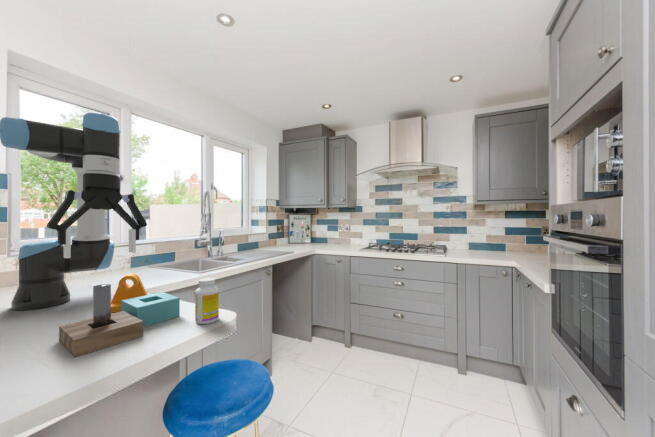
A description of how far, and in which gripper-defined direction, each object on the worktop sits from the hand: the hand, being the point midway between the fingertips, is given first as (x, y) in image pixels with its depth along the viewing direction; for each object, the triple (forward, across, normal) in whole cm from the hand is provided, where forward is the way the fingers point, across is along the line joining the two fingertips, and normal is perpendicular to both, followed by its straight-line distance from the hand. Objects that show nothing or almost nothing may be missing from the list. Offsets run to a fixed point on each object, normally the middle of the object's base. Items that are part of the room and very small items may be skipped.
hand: (102, 254), depth 72 cm
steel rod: (+22, 0, 0) cm, 22 cm away
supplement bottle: (+22, +23, -10) cm, 34 cm away
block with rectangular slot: (+22, +14, +6) cm, 27 cm away
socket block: (+22, 0, 0) cm, 22 cm away
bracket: (+22, +13, +22) cm, 34 cm away
